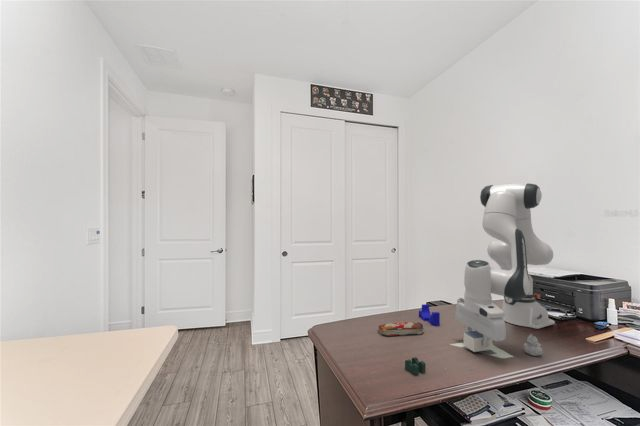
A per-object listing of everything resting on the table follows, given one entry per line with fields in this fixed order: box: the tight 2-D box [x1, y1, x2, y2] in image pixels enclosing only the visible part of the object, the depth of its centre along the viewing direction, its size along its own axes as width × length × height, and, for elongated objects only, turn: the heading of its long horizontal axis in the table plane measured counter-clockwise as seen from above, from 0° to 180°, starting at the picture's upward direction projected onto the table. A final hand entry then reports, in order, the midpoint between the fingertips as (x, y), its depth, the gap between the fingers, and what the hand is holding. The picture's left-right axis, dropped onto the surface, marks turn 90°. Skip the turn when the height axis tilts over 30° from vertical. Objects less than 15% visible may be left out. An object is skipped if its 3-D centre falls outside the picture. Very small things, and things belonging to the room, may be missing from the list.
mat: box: [449, 341, 514, 359], centre depth 100 cm, size 18×13×1 cm
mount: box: [404, 356, 426, 377], centre depth 86 cm, size 11×4×5 cm, turn 119°
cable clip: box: [418, 304, 441, 327], centre depth 129 cm, size 12×4×6 cm, turn 4°
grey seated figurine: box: [523, 333, 543, 357], centre depth 99 cm, size 5×7×8 cm
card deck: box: [463, 330, 493, 353], centre depth 100 cm, size 5×8×5 cm, turn 103°
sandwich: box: [378, 321, 425, 337], centre depth 115 cm, size 11×20×5 cm, turn 85°
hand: (477, 342), depth 100 cm, fingers closed on card deck, 5 cm apart
